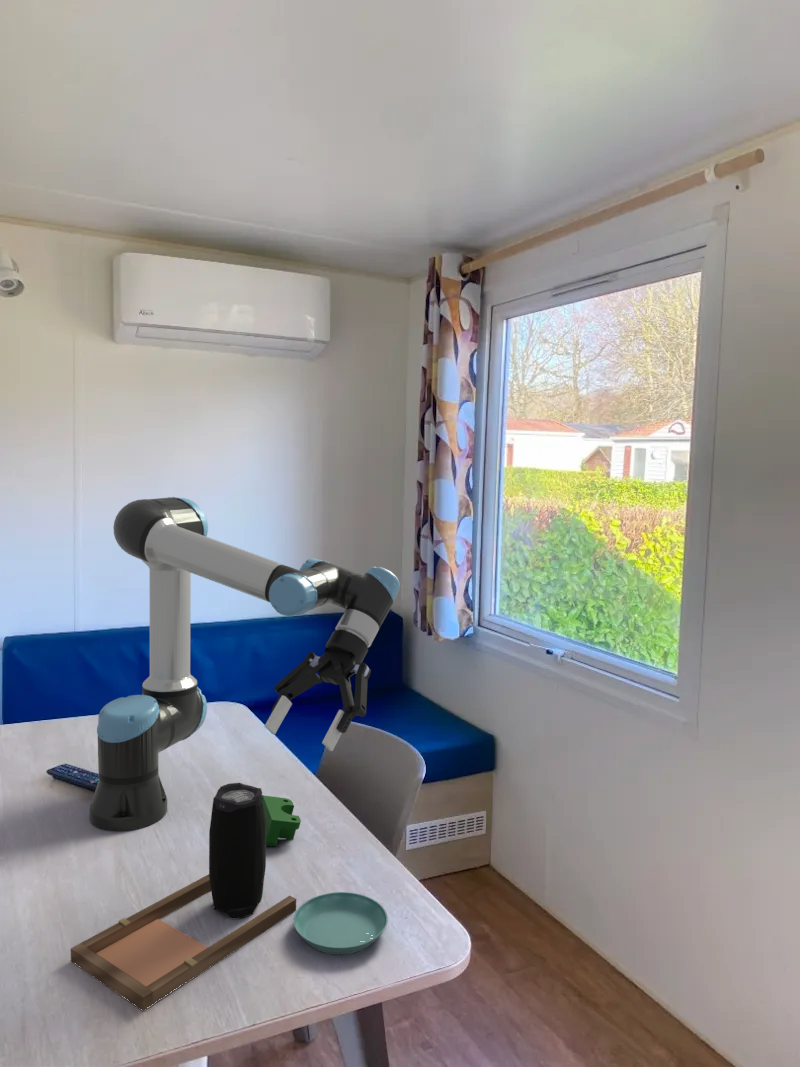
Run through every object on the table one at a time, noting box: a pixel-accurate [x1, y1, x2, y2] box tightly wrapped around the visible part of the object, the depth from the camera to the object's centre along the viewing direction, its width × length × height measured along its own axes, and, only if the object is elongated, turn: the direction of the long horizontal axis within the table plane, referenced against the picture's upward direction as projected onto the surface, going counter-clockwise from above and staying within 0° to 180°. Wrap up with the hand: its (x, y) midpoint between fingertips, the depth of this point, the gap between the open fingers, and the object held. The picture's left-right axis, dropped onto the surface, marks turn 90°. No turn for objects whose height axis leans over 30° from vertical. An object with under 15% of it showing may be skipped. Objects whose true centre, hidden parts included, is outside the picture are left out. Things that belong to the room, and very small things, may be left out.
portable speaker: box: [208, 782, 267, 920], centre depth 127 cm, size 9×9×20 cm
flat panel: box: [96, 918, 209, 987], centre depth 115 cm, size 14×11×1 cm
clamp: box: [262, 794, 302, 847], centre depth 152 cm, size 12×6×9 cm, turn 13°
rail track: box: [70, 873, 297, 1012], centre depth 120 cm, size 17×30×2 cm, turn 145°
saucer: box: [293, 891, 389, 955], centre depth 121 cm, size 15×15×3 cm
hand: (297, 738), depth 135 cm, fingers open, 13 cm apart
